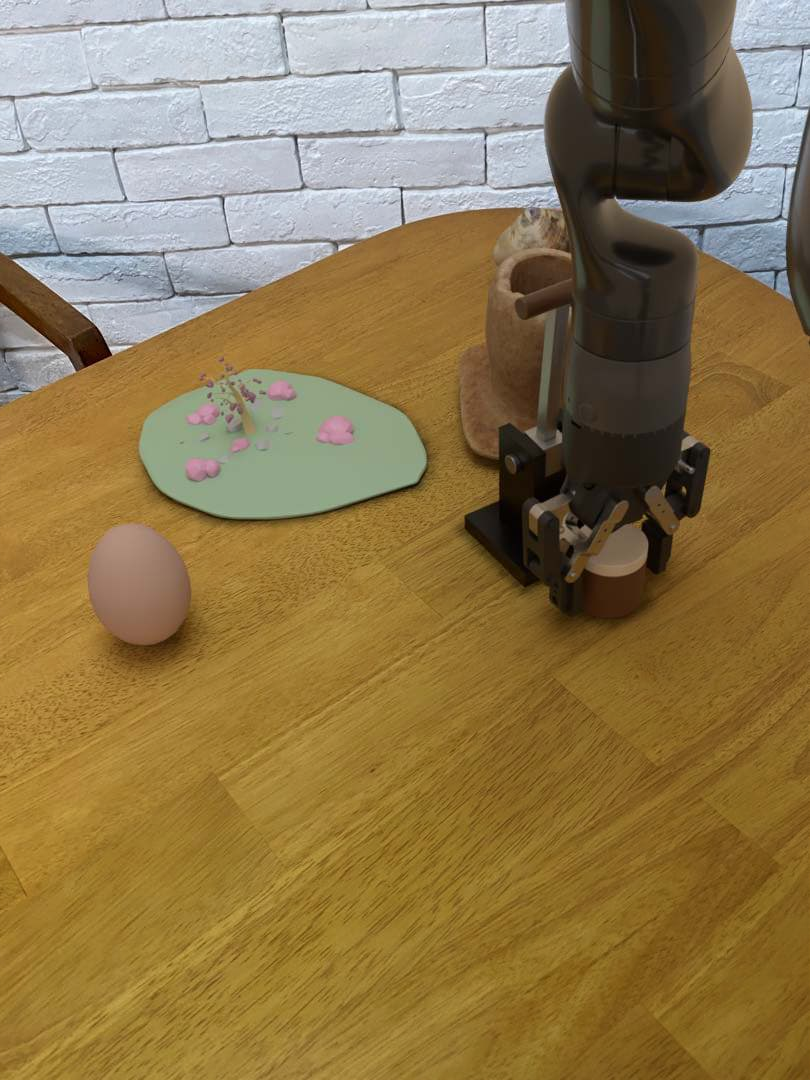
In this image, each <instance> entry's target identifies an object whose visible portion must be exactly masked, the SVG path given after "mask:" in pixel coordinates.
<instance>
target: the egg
mask: <svg viewBox="0 0 810 1080" xmlns="http://www.w3.org/2000/svg"><path fill="white" fill-rule="evenodd" d="M88 566H89V567H88V571H87V575H86V576H87V579H86V580H87V589H88V596H89V600H90V603H91V606H92V608H93V611H94V613H95V616H96V618H97V619H98V621H99V622H100V623H101V625H102V626H103V627H104V628H105V629H106V630H107V631H108V632H109V633H110V634H111V635H113V636H115V637H116V638H118V639H120V640H122V641H123V642H124V643H128V644H131V645H136V646H152V645H157V644H160V643H161V642H165V641H166V640H168V638H170V637H171V636H173V635H174V634H175V633H177V632H178V630H179V629H180V627H181V626H182V624H183V623H184V622H185V619H186V618H187V616H188V614H189V610H190V606H191V602H192V601H191V600H192V585H191V577H190V575H189V572H188V568H187V566H186V563H185V560H184V559H183V557H182V555H181V554H180V552H179V551H178V550H177V548H176V547H175V546H174V545H173V544H172V543H171V541H169V540H168V538H166V536H164V535H163V534H161V532H159V531H158V530H156V529H154V528H152V527H150V526H148V525H145V524H143V523H135V522H127V523H123V524H118V525H115V526H114V527H112V528H111V529H109V530H107V531H106V532H105V533H104V534H103V535H102V536H101V537H100V539H98V542H97V543H96V545H95V547H94V548H93V550H92V554H91V557H90V561H89V565H88Z"/></svg>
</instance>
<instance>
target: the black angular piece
mask: <svg viewBox="0 0 810 1080" xmlns="http://www.w3.org/2000/svg"><path fill="white" fill-rule="evenodd" d="M562 425H563V410H562V409H561V408H560V407H559V414H558V424H557V429H558V430H559V431H560V432H561V433H562ZM566 475H567V472H566V467H565V469H563V470H561V471H558V472H556V473H554V474H551V475H549V476H547V477H546V452H545V451H544V450H542V449H541V448H540V447H539V446H538V445H536V444H535V443H534V442H533V441H532V440H530V439H529V438H528V437H527V436H525V435H524V434H523V433H522V432H521V431H519V430H518V429H517V428H516V427H515V426H513V425H512V424H511V423H508V424H505V425H503V426H500V427H499V460H498V500H496V501H494V502H492V503H489V504H488V505H485V506H483V507H481V508H478V509H476V510H473V511H471V512H469V513H467V514H465V515H464V517H463V518H464V519H463V521H464V529H465V530H466V531H467V532H468V533H469V534H470V535H471V536H472V537H473V539H475V540H476V541H477V542H478V543H479V544H480V545H481V546H482V547H483V548H484V549H485V550H486V551H487V552H489V554H490V555H492V557H494V559H495V560H496V561H498V563H500V564H501V565H502V566H503V568H504V569H505V570H507V571H508V573H510V574H511V576H513V577H514V578H515V579H516V580H517V581H518V582H519V583H520V584H521V586H523V587H525V588H526V587H527V586H530V585H532V584H534V583H536V582H538V581H541V580H540V579H539V578H538V577H537V576H536V575H535V574H534V573H533V572H532V571H531V570H529V569H528V568H527V567H526V566H525V565H524V563H523V531H522V506H523V504H524V502H525V501H526V500H527V499H529V498H532V497H534V498H536V499H537V500H538V501H539V502H540V503H543V502H545V501H547V500H549V499H552V498H554V497H556V496H558V495H560V490H561V487H562V485H563V483H564V481H565V478H566ZM584 525H585V524H584V523H582V522H581V521H580V520H579V519H578V521H577V526H578V528H579V529H581V528H582V527H583V526H584ZM573 553H574V547H573V546H572V545H571V544H570V546H569V548H568V550H567V552H566V554H565V555H566V556H567V557H568V558H569V559H571V557H572V555H573Z"/></svg>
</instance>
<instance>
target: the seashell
mask: <svg viewBox="0 0 810 1080" xmlns="http://www.w3.org/2000/svg"><path fill="white" fill-rule="evenodd" d="M533 248H549V249H556V250H560V251H564V252H567V253H570V254H571V250H570V244H569V239H568V234H567V229H566V223H565V219H564V216H563V213H560V212H558V211H555V210H551V209H545V208H541V207H536V206H527V207H525V209H523V210H522V212H521V213H520V214H519V215H518V217H517V218H516V220H515V221H514V222H513V223H512V224H511V225H509V226H508V227H507V228H505V229H504V230H503V231H502V233H501V234H500V236H499V237H498V241H497V243H496V245H495V247H494V250H493V261H494V263H495V264H496V266H497V267H498V266H499V265H500V264H501V263H502V262H503V261H504V260H505V259H507V258H508V257H510V256H511V255H513V254H515V253H516V252H520V251H523V250H527V249H533Z"/></svg>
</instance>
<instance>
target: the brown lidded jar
mask: <svg viewBox="0 0 810 1080" xmlns="http://www.w3.org/2000/svg"><path fill="white" fill-rule="evenodd" d="M580 530H581V531H582V532H583V533H584V534H585V535H587V536H588V537H589V535H590V534H591V532H592V530H591V529H589V528H588V527H587V526H586V525H584V526H583V527H582V528H581V529H580ZM647 553H648V540H647V537H646V536H645V534H644V533H643V531H642V530H641V528H640V527H638V526H637V525H635V524H634V523H631V524H626V525H624V526H622V527H621V528H620V529H618V530H617V531H615V532H613V533H611V534H610V535H609V537H608V539H607V540H606V542H605V544H604V546H603V548H602V549H601V551H600V553H599V554H598V555H596V556H591V557H590V558H589V560H588V562H587V564H586V566H585V567H584V569H583V571H582V573H581V575H580V576H581V577H582V592H581V609H580V610H581V611H583V612H584V613H586V614H587V615H590V616H593V617H595V618H600V619H620V618H623V617H626V616H628V615H630V614H632V613H634V612H635V611H636V610H637V609H639V607H640V606H641V604H642V603H643V602H642V601H643V598H644V589H645V581H646V580H645V579H646V572H647V571H646V570H647V568H646V562H647Z"/></svg>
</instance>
